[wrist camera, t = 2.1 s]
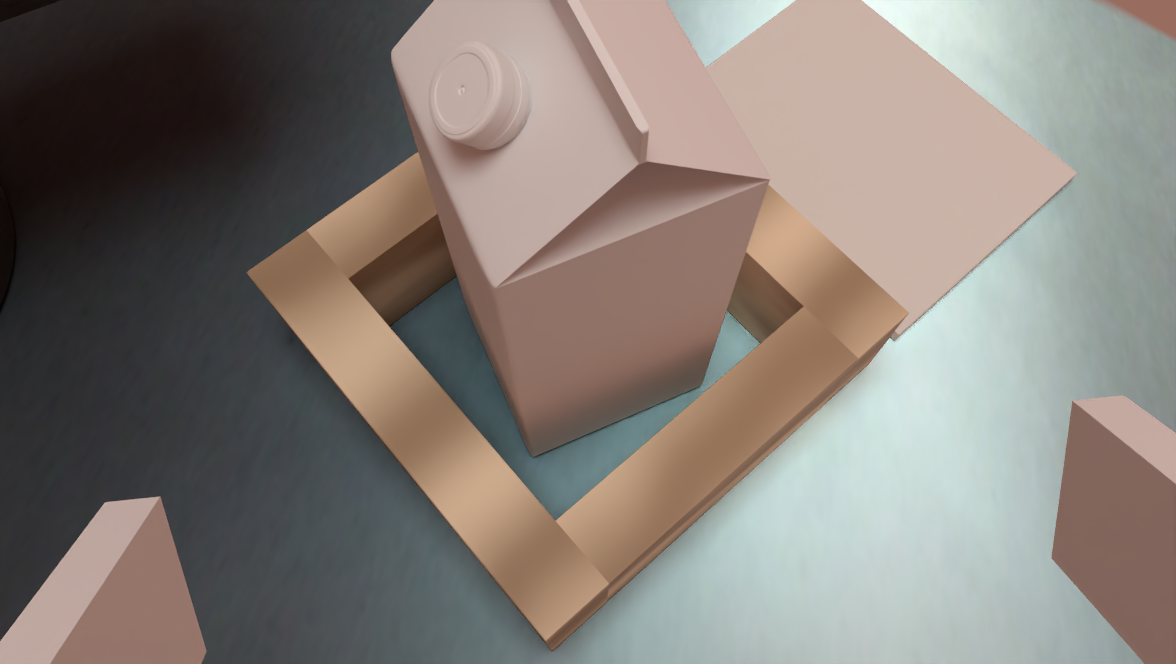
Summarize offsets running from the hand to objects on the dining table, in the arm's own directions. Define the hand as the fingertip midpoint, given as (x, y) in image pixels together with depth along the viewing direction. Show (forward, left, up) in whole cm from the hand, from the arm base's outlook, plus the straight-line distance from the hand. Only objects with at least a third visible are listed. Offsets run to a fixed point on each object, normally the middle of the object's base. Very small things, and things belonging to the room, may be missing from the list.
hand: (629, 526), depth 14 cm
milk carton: (-9, +6, -20) cm, 23 cm away
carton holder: (-9, +6, -20) cm, 23 cm away
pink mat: (-8, +21, -20) cm, 30 cm away
